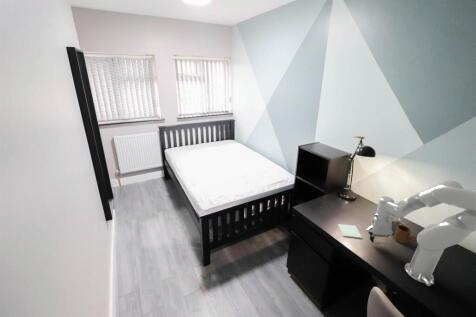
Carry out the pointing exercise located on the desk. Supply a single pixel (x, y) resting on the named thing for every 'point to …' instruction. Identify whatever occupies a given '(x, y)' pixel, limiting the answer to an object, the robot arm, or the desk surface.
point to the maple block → (379, 240)
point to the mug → (403, 234)
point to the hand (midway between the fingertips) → (377, 241)
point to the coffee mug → (395, 223)
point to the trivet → (349, 231)
